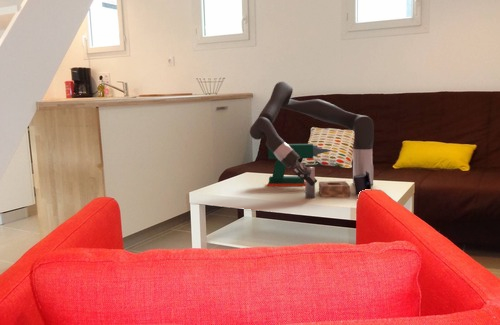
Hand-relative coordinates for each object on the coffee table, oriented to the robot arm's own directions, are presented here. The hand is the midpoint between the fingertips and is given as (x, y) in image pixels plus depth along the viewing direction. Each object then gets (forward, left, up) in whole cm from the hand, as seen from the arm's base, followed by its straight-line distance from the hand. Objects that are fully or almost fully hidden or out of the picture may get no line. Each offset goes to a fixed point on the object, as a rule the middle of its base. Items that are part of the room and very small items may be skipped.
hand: (314, 183), depth 198 cm
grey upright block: (+2, -1, -6) cm, 6 cm away
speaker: (-21, -5, -6) cm, 22 cm away
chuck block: (-9, -8, -6) cm, 13 cm away
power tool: (+4, -31, -6) cm, 32 cm away
